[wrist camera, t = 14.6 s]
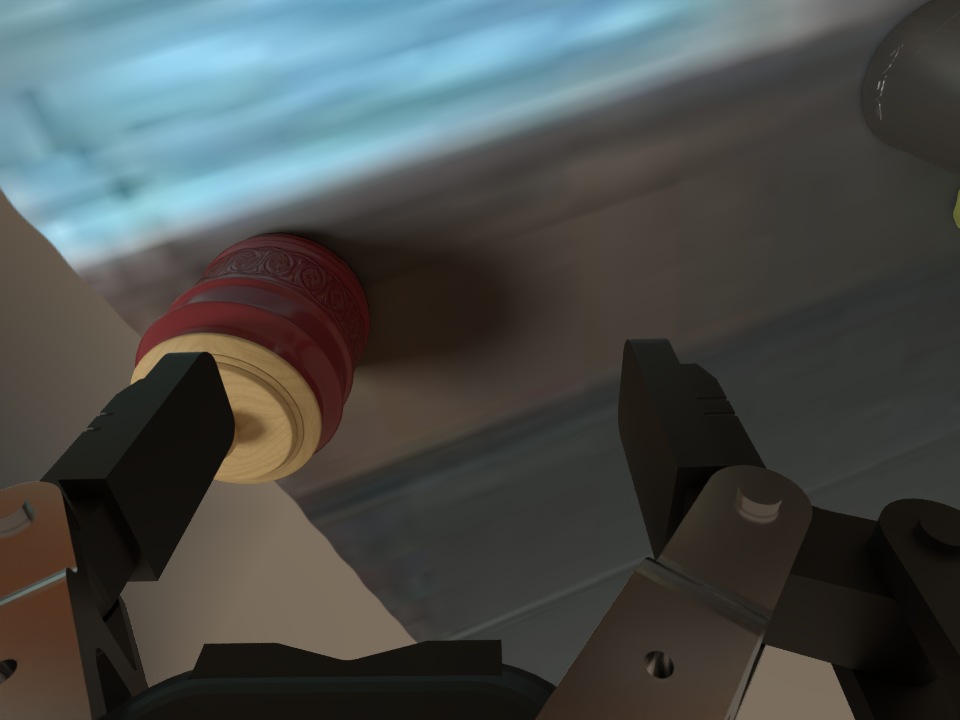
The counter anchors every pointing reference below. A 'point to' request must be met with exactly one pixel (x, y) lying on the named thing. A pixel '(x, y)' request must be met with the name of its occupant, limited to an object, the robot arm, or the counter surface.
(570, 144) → the counter surface
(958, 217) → the plant pot
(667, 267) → the counter surface
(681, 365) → the robot arm
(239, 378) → the canister
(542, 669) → the counter surface
